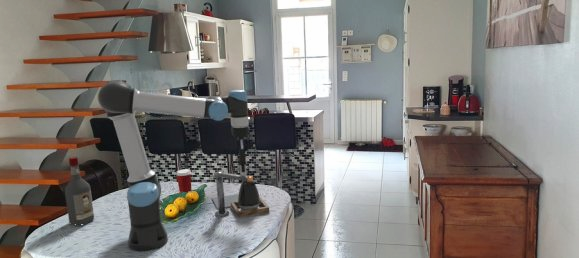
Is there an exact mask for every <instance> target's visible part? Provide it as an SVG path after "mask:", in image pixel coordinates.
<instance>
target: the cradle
mask: <svg viewBox="0 0 579 258" xmlns="http://www.w3.org/2000/svg"><path fill="white" fill-rule="evenodd" d="M259 197H260V196H259ZM259 206H261V207H258V208H256V209H250V210H244V211H243V210H239V208H240V206H239V204H238V201H235V202H231V207H230V208H231V209H232V211H233V213H234V214H235V216H236V218H237V219H238V218H244V217H251V216H257V215H262V214H269V213H270V207H269V206H268V204H267V203H266V202H265V200H263V198H262V197H260V203H259Z"/></svg>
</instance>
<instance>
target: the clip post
mask: <svg viewBox="0 0 579 258" xmlns="http://www.w3.org/2000/svg"><path fill="white" fill-rule="evenodd" d="M215 183H216V185H215V186H216V192H217V193H216V195H217V196H216V197H218V210H217V211H215V212H214V215H215V217H217V216H218V218H222V217H227V216H229V215H230V211H229V210H227V209H226V208H225V201H224V196H225V192H224V191H225V190H224V177H215Z"/></svg>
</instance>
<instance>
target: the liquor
mask: <svg viewBox="0 0 579 258" xmlns="http://www.w3.org/2000/svg"><path fill="white" fill-rule="evenodd" d="M68 162H69V168H70V176H71V178H70V181H69V182H68V183H67V185H66V186H65V188H64V196H65V202H66V209H67V216H68V223H69V224H70V223H71V224H70V225H72V224H76V225H75V226H77V225H80V226H82V225H81V224H85V225H87V224H89V223H92V222H94V219H95V212H94V206H93V205H94V204H93V197H92V191H91V185H90V183H88V182H87V181H86V180H84V179H83V178H82V176H81V173H80V166H79V164H80V163H79V158H78V156H74V157H73V156H72V157H69V158H68ZM91 221H92V222H91ZM88 222H89V223H88ZM86 223H87V224H86Z"/></svg>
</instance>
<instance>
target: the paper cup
mask: <svg viewBox="0 0 579 258" xmlns="http://www.w3.org/2000/svg"><path fill="white" fill-rule="evenodd" d="M175 175H176V179H177V185H178V191H179V194H180V193H182V192H188V191H191V192H192V171H191V169H187V168H185V169H180V170H177V171H176V174H175Z"/></svg>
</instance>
